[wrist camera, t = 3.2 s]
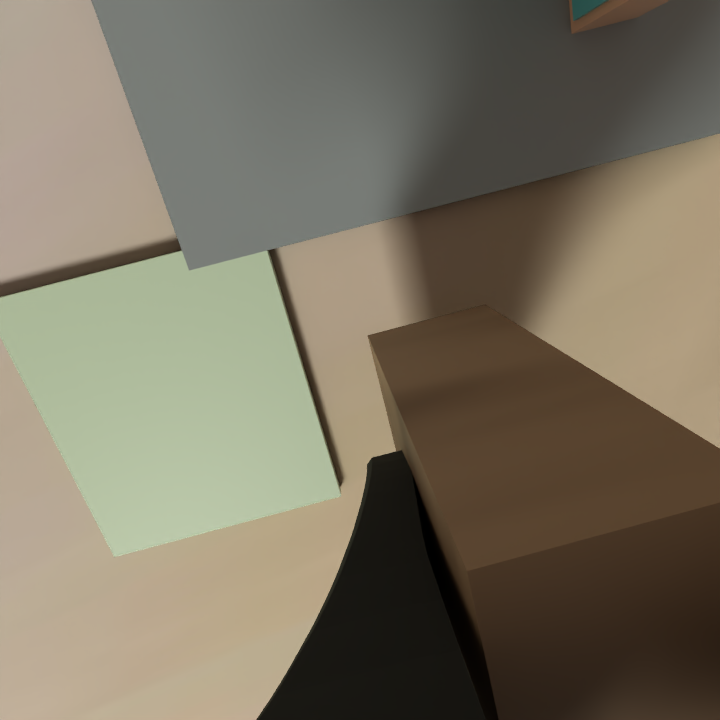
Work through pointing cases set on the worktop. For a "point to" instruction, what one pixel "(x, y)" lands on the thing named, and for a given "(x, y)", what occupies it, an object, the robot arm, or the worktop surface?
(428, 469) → the walnut block
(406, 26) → the mat
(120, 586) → the worktop surface
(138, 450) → the rest pad
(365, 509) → the robot arm
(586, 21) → the tile
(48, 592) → the worktop surface
